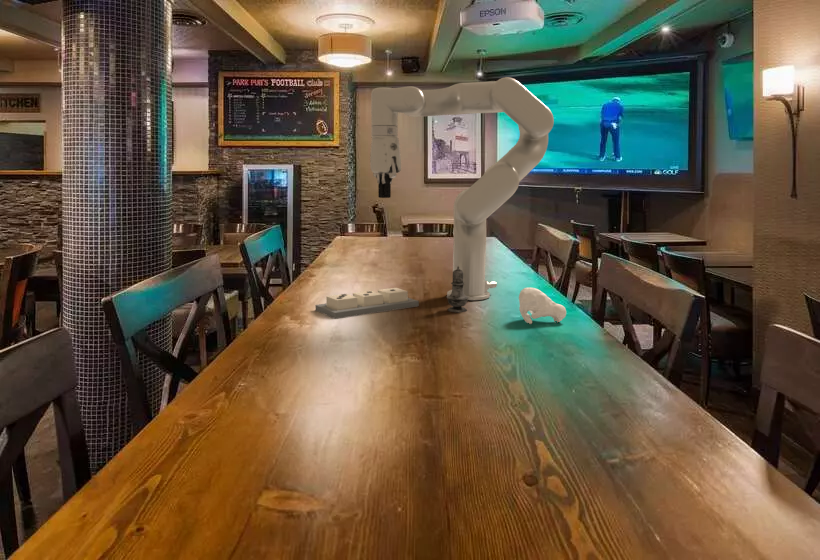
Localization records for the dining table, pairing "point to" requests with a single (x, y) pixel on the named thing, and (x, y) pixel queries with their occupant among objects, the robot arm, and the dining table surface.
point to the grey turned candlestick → (457, 293)
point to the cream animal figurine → (539, 305)
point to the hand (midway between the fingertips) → (384, 197)
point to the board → (366, 308)
